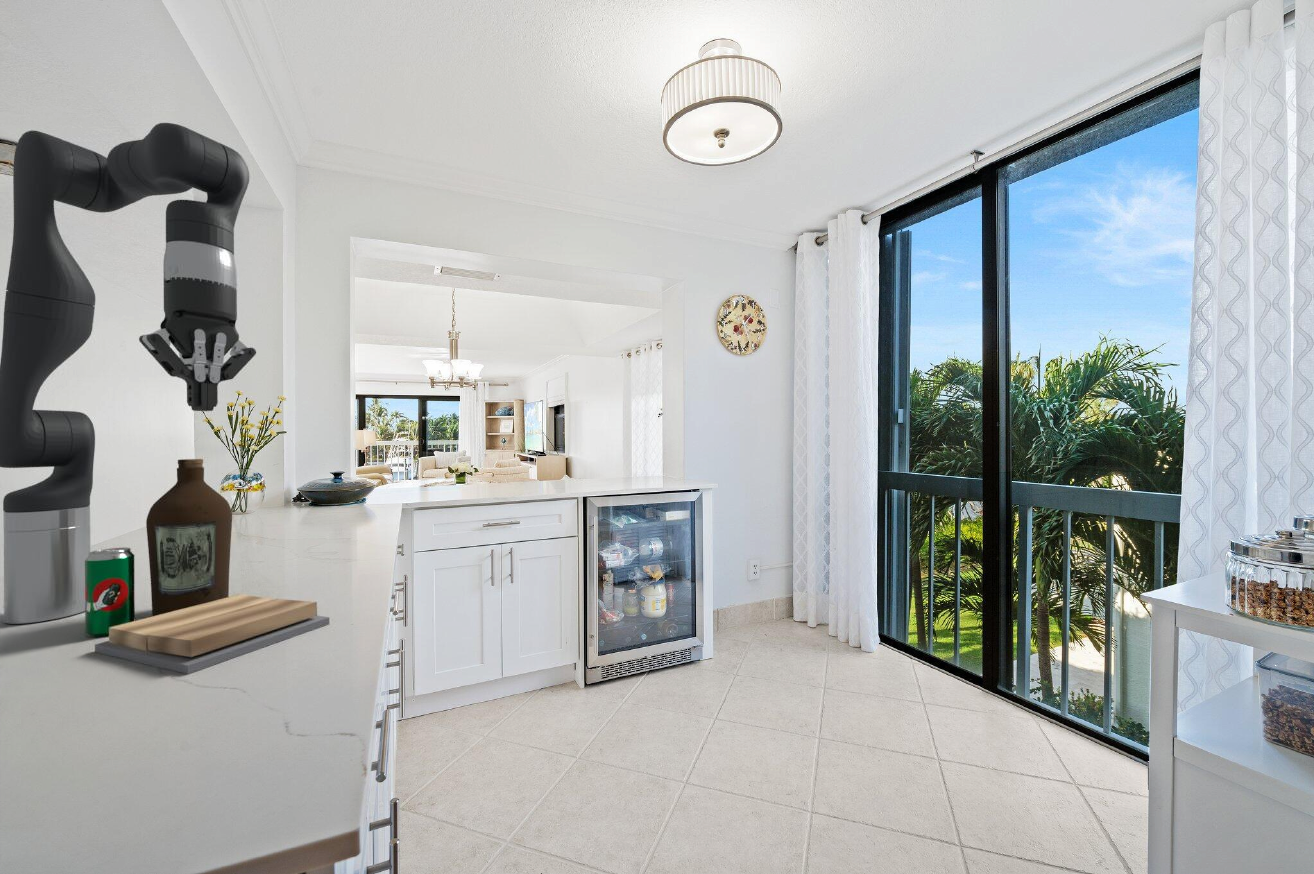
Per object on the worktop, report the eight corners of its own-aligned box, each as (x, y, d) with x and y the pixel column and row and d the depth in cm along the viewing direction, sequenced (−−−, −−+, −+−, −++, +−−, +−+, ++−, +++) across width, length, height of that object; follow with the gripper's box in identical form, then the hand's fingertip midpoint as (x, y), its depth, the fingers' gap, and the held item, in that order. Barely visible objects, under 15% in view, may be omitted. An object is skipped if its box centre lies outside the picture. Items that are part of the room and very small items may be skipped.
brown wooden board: (148, 650, 67) (147, 634, 67) (276, 611, 82) (276, 598, 82) (191, 657, 64) (190, 640, 64) (317, 615, 79) (316, 602, 79)
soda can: (144, 626, 80) (143, 546, 80) (106, 638, 75) (105, 554, 75) (114, 625, 80) (114, 546, 80) (74, 637, 75) (74, 553, 75)
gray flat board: (94, 651, 70) (94, 644, 70) (242, 610, 87) (242, 604, 87) (188, 674, 63) (188, 665, 63) (329, 623, 80) (329, 617, 80)
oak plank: (109, 642, 70) (109, 627, 70) (240, 606, 85) (239, 594, 85) (146, 650, 67) (146, 635, 67) (275, 612, 82) (274, 599, 82)
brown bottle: (155, 608, 88) (154, 459, 88) (236, 597, 94) (235, 457, 94) (138, 626, 79) (137, 461, 80) (228, 613, 85) (227, 459, 85)
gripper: (237, 298, 79) (238, 413, 79) (122, 272, 67) (122, 409, 66) (270, 292, 76) (271, 412, 76) (157, 264, 64) (158, 407, 64)
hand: (202, 410), depth 71 cm, fingers closed
